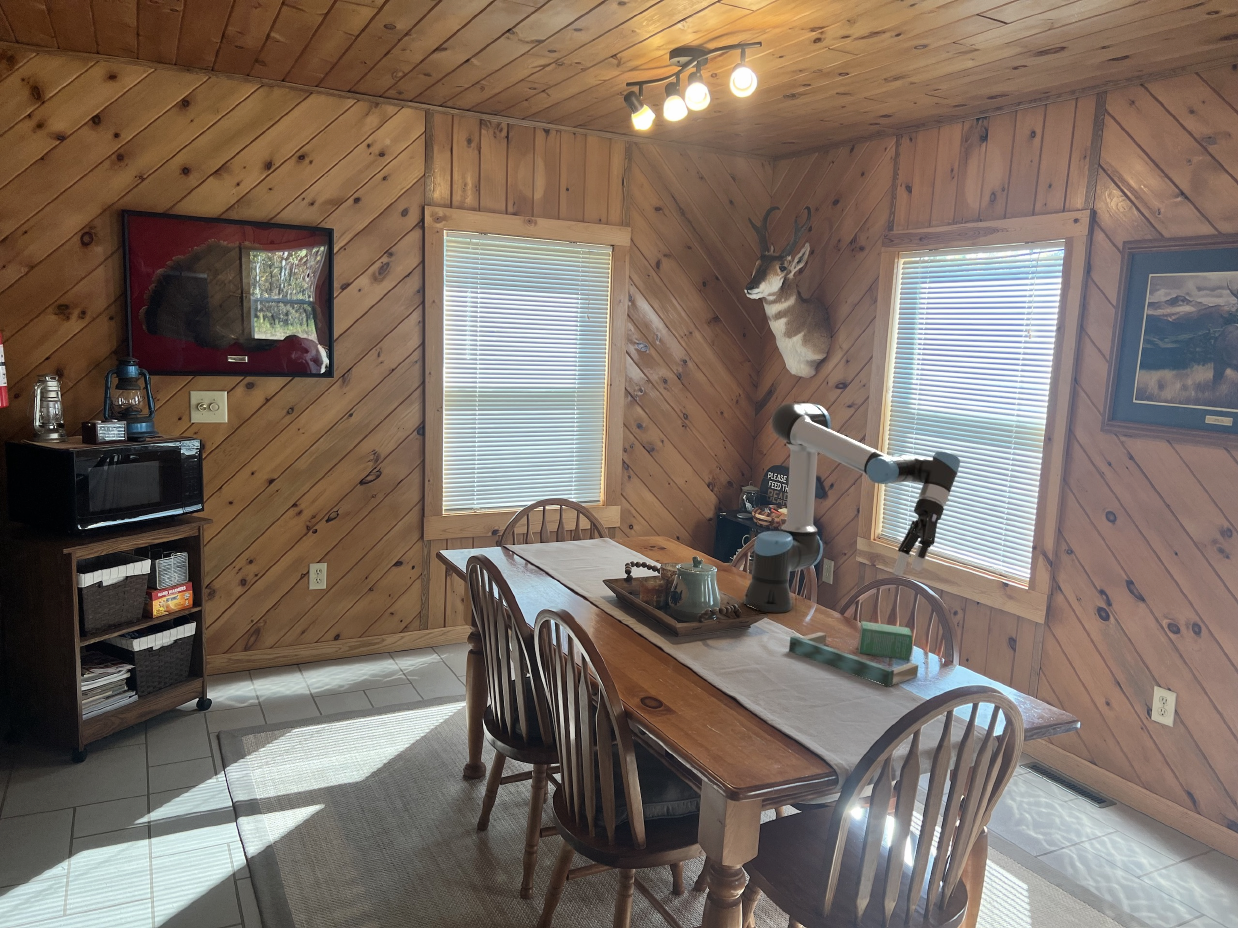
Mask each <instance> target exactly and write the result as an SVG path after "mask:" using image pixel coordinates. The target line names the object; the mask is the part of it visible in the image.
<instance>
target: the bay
mask: <svg viewBox="0 0 1238 928" xmlns="http://www.w3.org/2000/svg"><path fill="white" fill-rule="evenodd" d="M826 642H827V633H825V632H819V631H818V632H816V633H812V634H808V635H804V636H801V637H800V636H797V635H792V636H790V637H789V645H788V646H789V648H788V652H791V653H793V654H796V655H798V656H802V657H804V658H806V659H809V660H812V661H816V662H818V663H821V664H822V665H823V664H824V665H825V666H829V667H832V668H833V669H837V670H840V671H842V670H843V672H846V673H847V674H850V673H851V675H853V674H854V675H853V676H856V675H857V676H856V677H859V676H860V677H859V678H861V677H863V678H862V679H864V678H867V679H870V680H873V681H876V682H879V683H881V684H884V685H885V686H884V687H886V686H890V685H893V684H895V685H897V683H898V684H901V683H903V682H905V681H908V680H911V679H914V678H917V677H918V673H919V664H917V663H914V662H909V663H907V664H904V665H901V666H897V667H895V668H889V667H886V666H884V665H880V664H879V663H875V662H871V661H869V660H866V659H863V658H860V657H858V656H855V655H851V654H849V653H847V652H843V651H841V650H839V649H835V648H832V647H829V646H826ZM867 679H866V680H867ZM870 680H869V681H870ZM881 684H880V685H881ZM893 686H894V685H893ZM890 687H891V686H890Z"/></svg>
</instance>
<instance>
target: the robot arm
mask: <svg viewBox="0 0 1238 928" xmlns="http://www.w3.org/2000/svg"><path fill="white" fill-rule="evenodd" d="M770 424H771V429H772V431H773V433H774V434H775V435H776V437H778V438H780V439H781V440H783V441H785V445H786V446H787V447H788V448H789V450H790V454H789V471H788V472H789V473H788V487H787V488H788V489H787V504H786V505H787V506H786V507H787V508H786V522H785V523H784V524H783V525H782V526H781V527H780V529H781V530H780V531H779V530H772V531H770V530H769V531H763V532H761V533H759V534H757V535H756V538H755V542H754V545H753V559H752V571H751V580H750V582H749V584H748V588H747V589H746V592H745V594H744V597H743V605H744V604H746V605H749V606H752V607H754V608H756V609H758V610H757V611H759V610H762V611H761V612H765V613H774V614H775V613H778V614H779V613H787V612H790V611H791V610H792V607H793V600H792V597H791V590H790V587H789V580H790V572H793V571H799V570H806V569H808V568H810V567H814V566H815V565H816V564H818V562H819V561H820V560H821V558H822V555H823V551H824V547H823V546H824V545H823V542H822V540H820V539H821V538H820V537H819V536H818V528H817V527H816V526H815V525H814V512H815V496H816V484H817V483H816V482H817V481H816V480H817V467H818V466H817V465H818V453H819V454H822V455H824V456H825V457H828V458H830V459H832V460H834V461H836V462H839V463H841V464H843V465H845V466H847V467H849V468H851V469H854V470H855V471H858V472H860V473H862V474H864V475H867V477H868V479H869V480H870V481H871V482H873V483H875V484H880V485H888V484H896V483H906V482H908V483H909V482H910V483H918V484H923V485H922V487H921V488H920V492H919V493H918V494H919V495H918V499H917V500H916V503H915V506H914V509H913V512H914V514H915V515H916V516H917V519H916V520H912V521H911V523H910V526H909V528H908V531H906V534H905V536H904V537H903V539H902V541H901V543H900V545H899V547H898V549H897V552H899V553H898V557H897V559H896V562H895V565H894V567H893V570H892V571H891V573H892V574H894V575H896V576H898V577H903V574H904V572H905V569H906V567H907V564H908V562H909V559H910V558H911V552H912V550H913V549H914V547H915V545H916V544H918V545H917V548H916V551H915V554H914V556H913V559H912V562H911V565H910V568H912V569H914V570H917V571H918V572H921V571H922V569H923V565H924V563H925V561H926V558H927V555H928V552H929V549H930V548H931V547H932V546H934V544H935V541H936V535H937V534H936V533H937V527H938V523H939V521H940V520H941V519H942V516H943V514H944V511H945V507H946V505H947V503H949V501H950V498H949V496H950V493H951V491H952V488H953V486H954V484H955V480H956V478H957V475H958V474H959V473H958V472H959V469H960V465H961V460H960V458H959V457H958V455H956V454H955V453H952V452H949V451H948V450H947V451H946V450H938V451H936V452H935V453H934V455H932V457H921V456H915V455H908V454H904V453H903V454H898V453H896V454H893V455H892V456H891V455H887V454H885V453H883V452H881V451H878V450H877V449H875V448H872V447H869V446H867V445H865V444H863V443H861V442H858V441H856V440H854V439H852V438H849V437H847V436H845V435H843V434H840V433H838V432H836V431H834V430H832V429H831V427H832V426H831V425H832V420H831V417H830V415H829V412H828V411H827V410H826V409H825V408H824V407H823V406H821V405H819V404H815V403H809V402H808V403H805V402H804V403H793V402H790V403H784V404H781V405H780V406H778V407H777V408H776V409H775V410H774V411H773V413H772V415H771V419H770ZM918 540H919V541H918ZM917 542H918V543H917ZM746 605H745V606H746Z"/></svg>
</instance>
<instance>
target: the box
mask: <svg viewBox="0 0 1238 928" xmlns="http://www.w3.org/2000/svg"><path fill="white" fill-rule="evenodd" d="M913 637H914V636H913V633H912V631H911V629H910V628H909V627H906V626H905V627H903V626H896V625H889V624H884V623H876V622H868V621H861V622H860V628H859V635H858V642H857V649H859V650H858V653H859V654H862V655H863V654H864V655H870V656H871V655H872V656H877V657H885V658H891V657H892V659H897V660H898V659H899V660H905V661H910V659H911V655H912V651H913V643H914V642H913Z"/></svg>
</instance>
